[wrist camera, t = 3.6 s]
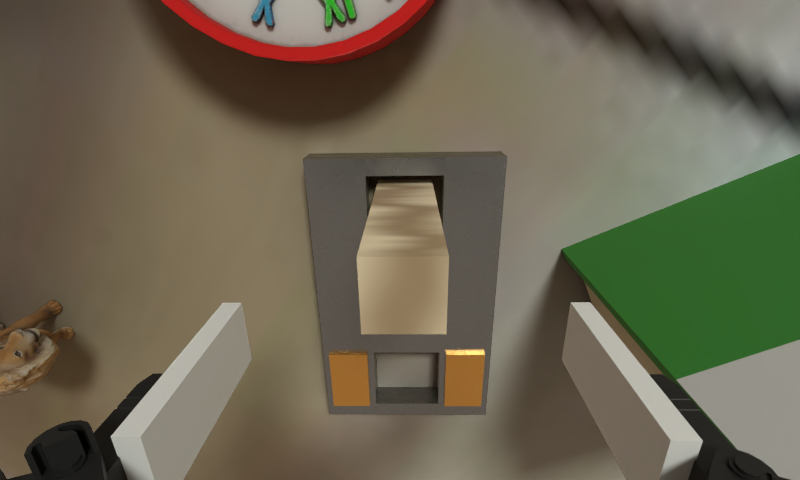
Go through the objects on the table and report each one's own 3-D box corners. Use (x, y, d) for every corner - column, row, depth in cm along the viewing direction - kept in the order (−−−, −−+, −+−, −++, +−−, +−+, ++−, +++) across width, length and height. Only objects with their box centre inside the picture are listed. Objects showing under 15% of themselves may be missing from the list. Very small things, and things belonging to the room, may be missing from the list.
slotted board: (333, 397, 39) (329, 416, 36) (309, 153, 30) (301, 159, 28) (481, 398, 38) (486, 417, 36) (500, 151, 30) (507, 157, 28)
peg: (380, 229, 32) (361, 334, 19) (378, 179, 31) (356, 256, 18) (430, 229, 32) (446, 334, 19) (431, 179, 31) (448, 256, 18)
